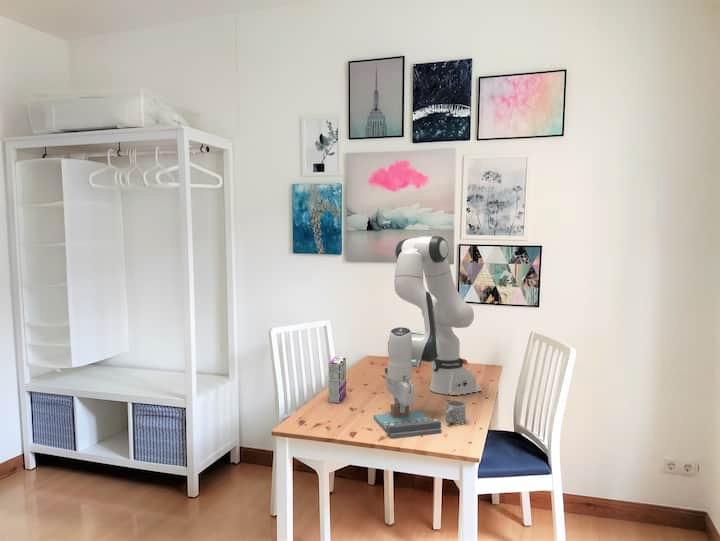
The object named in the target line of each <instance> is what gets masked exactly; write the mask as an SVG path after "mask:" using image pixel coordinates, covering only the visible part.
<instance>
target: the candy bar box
mask: <svg viewBox="0 0 720 541" xmlns="http://www.w3.org/2000/svg"><path fill="white" fill-rule="evenodd" d="M346 396H347V358H346V356H338V355H337V356H334V357H333V358H332V359H331V360H330V361H329V362H328V403H330V404H341V403H342V401H343V400H344V399H345V397H346Z"/></svg>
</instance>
